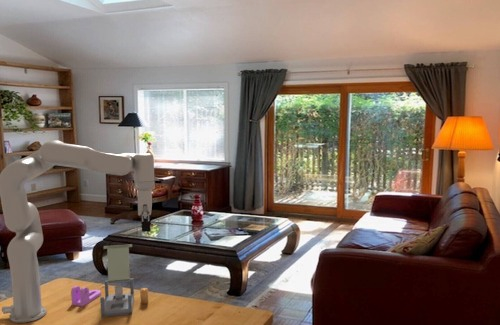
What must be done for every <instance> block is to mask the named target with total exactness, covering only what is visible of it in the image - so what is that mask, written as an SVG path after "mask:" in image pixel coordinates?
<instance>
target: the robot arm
mask: <svg viewBox="0 0 500 325" xmlns="http://www.w3.org/2000/svg"><path fill="white" fill-rule="evenodd" d="M154 161H155V157H154V155H153V154H152V153H149V152H141V153H140V152H138V153H130V152H121V153H118V154H115V153H108V152H107V153H106V152H101V151H98V150H95V149H93V148H91V147H89V146H87V145H86V146H84V145H78V144H71V143H66V142H63V141H62V140H61V141H60V140H58V139H57V140H55V139H54V140H49V141H46V142H43V144H42V145H41V146H40V147H39V149H37V150H35V151H33V153H30V154H29V155H27V156H25V157H23V158H20V159H17V160H14V161H12V162H11V163H9V164H8V165H6V166H5V168H3V169H2V171H1V172H0V202H1V207H2V208H1V209H2V214H3V218H4V224H5V227H6V228H7V229H8V230H9V231H10V232H12V233H15V236H14V237H13V238H12V239H11V240H10V241H9V243H8V245H7V249H6V255H7V259H8V263H9V269H10V278H11V279H10V280H11V290H12V304H11V305H9V306H8V305H6V306H5V305H4V306H2V307H1V312H2V313H3V314H4V315H5V314H6V315H7V314H9V320H10V322H13V323H17V324H18V323H19V324H23V323H24V324H25V323H29V322H34V321H37V320H39V319H42V317H44V316H45V315H46V314H47V308H46V307H45V306H44V305H43V304H42V291H41V278H40V277H41V276H40V267H39V266H40V265H39V261H38V255H37V253H38V251H39V249H40V248H42V245H43V243H44V234H43V228H42V223H41V218H40V213H39V211H38V208H37V207H36V206H35V204H34V203H32V202H29V201H28V195H27V192H26V188H25V184H26V183H28V182H30V181H31V180H34V179H36V178H37V177H39V176H40V175H42V174H44V173H45V172H46V171H48V170H50V169H51V168H53V167H54V166H60V167H68V168H74V169H81V170H85V171H92V172H96V173H101V174H106V175H114V176H115V175H116V176H125V175H127V174H129V173H131V172H132V171H133V172H134V175H133V176H134V177H133V178H134V190H136V191H137V215H138V216H141V232H142V233H146V232H150V231H151V225H152V224H151V223H152V219H151V215H152V207H153V194H152V193H153V192H152V191H153V190H155V188H156V187H155V184H156V182H155V162H154Z"/></svg>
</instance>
